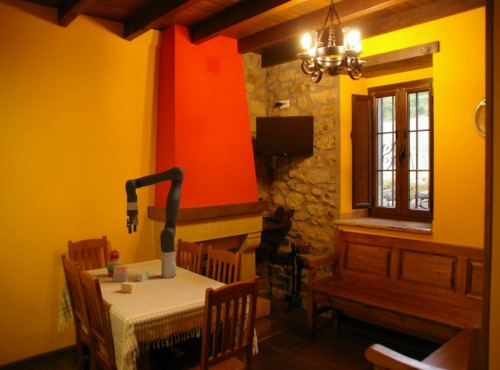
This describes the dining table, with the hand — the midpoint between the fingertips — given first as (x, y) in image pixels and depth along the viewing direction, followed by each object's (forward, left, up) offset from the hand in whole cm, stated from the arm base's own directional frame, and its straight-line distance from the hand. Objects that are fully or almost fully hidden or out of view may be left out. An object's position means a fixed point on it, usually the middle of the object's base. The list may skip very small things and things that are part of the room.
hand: (132, 232), depth 274 cm
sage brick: (-10, +8, -30) cm, 33 cm away
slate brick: (+4, +12, -30) cm, 33 cm away
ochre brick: (-10, +33, -30) cm, 46 cm away
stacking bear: (+14, -2, -30) cm, 33 cm away
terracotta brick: (+4, +12, -25) cm, 28 cm away
